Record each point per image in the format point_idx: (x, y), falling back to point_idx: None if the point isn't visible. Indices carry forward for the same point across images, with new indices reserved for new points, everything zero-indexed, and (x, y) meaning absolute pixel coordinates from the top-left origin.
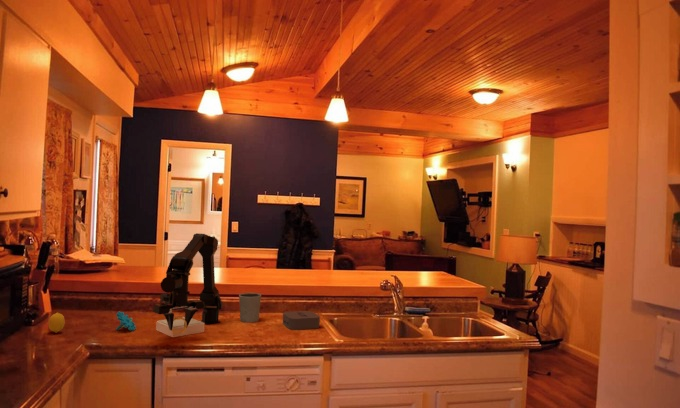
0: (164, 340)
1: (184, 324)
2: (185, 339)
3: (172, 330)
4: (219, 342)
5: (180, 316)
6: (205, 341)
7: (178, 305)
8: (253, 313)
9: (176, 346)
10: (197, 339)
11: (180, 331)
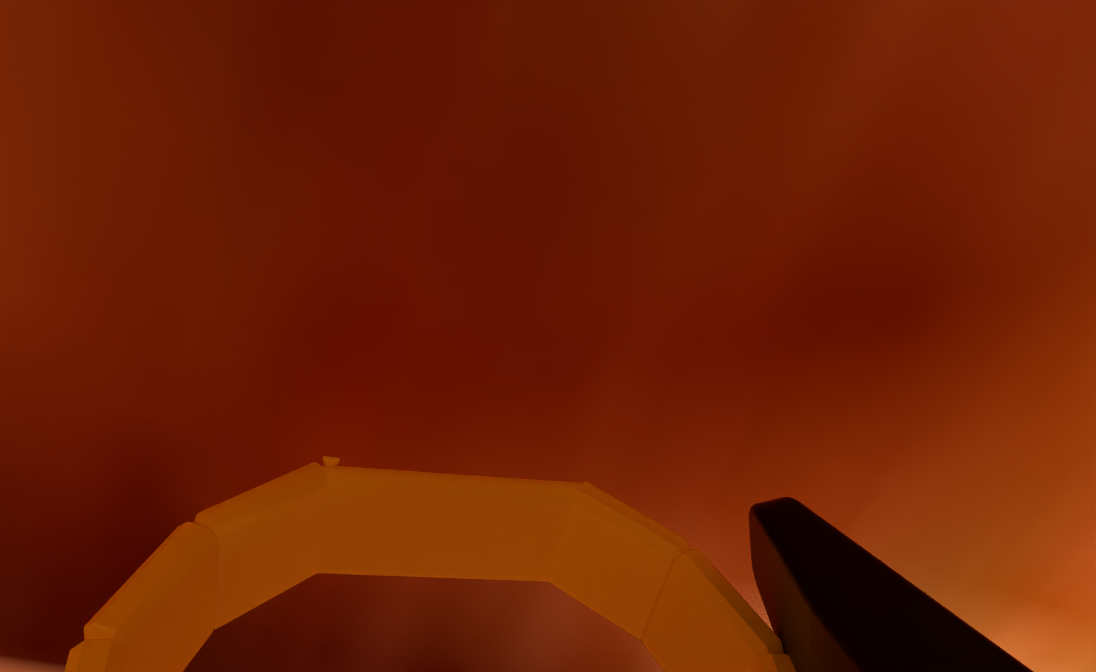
0: (69, 132)
1: (793, 579)
2: (674, 257)
3: (221, 622)
4: (1084, 633)
5: None
6: (946, 529)
7: None
8: None
9: (316, 663)
10: (911, 355)
11: (522, 554)
